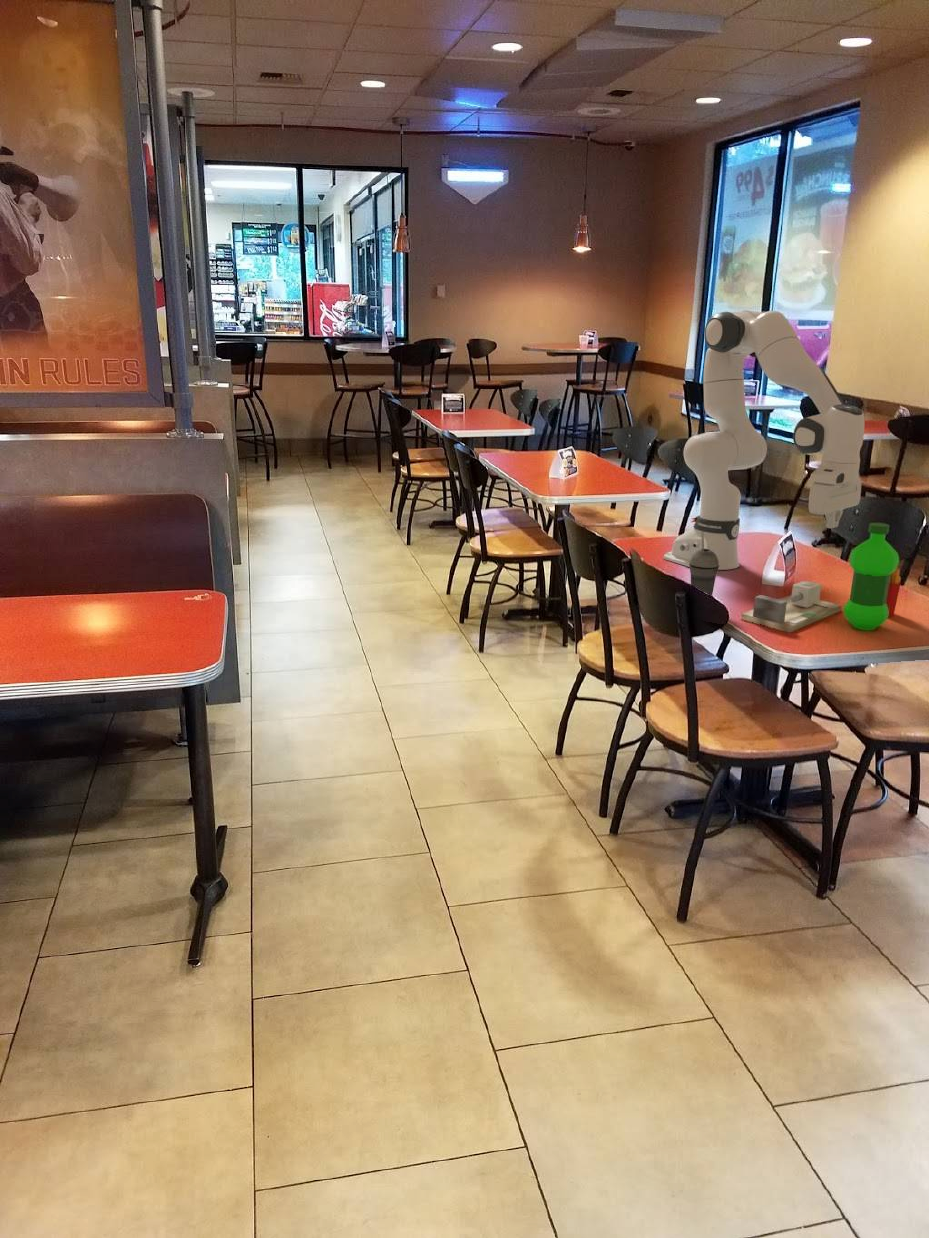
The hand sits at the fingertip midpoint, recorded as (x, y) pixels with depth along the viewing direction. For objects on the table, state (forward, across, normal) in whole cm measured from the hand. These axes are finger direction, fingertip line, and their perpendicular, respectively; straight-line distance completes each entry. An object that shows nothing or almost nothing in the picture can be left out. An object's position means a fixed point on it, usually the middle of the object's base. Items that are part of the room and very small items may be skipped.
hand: (832, 527), depth 231 cm
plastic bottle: (+20, +10, +16) cm, 28 cm away
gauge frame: (+20, +15, 0) cm, 25 cm away
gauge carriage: (+18, +10, +2) cm, 21 cm away
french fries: (+20, -4, +14) cm, 25 cm away
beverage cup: (+20, +28, -18) cm, 39 cm away
